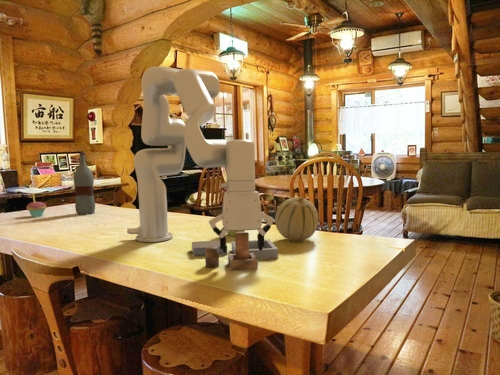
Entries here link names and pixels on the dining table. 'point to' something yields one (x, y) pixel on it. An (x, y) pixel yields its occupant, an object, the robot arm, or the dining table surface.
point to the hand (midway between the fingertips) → (242, 250)
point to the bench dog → (212, 256)
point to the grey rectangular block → (199, 247)
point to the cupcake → (36, 208)
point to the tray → (266, 253)
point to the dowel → (242, 245)
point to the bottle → (84, 188)
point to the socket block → (242, 262)
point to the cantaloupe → (296, 219)
